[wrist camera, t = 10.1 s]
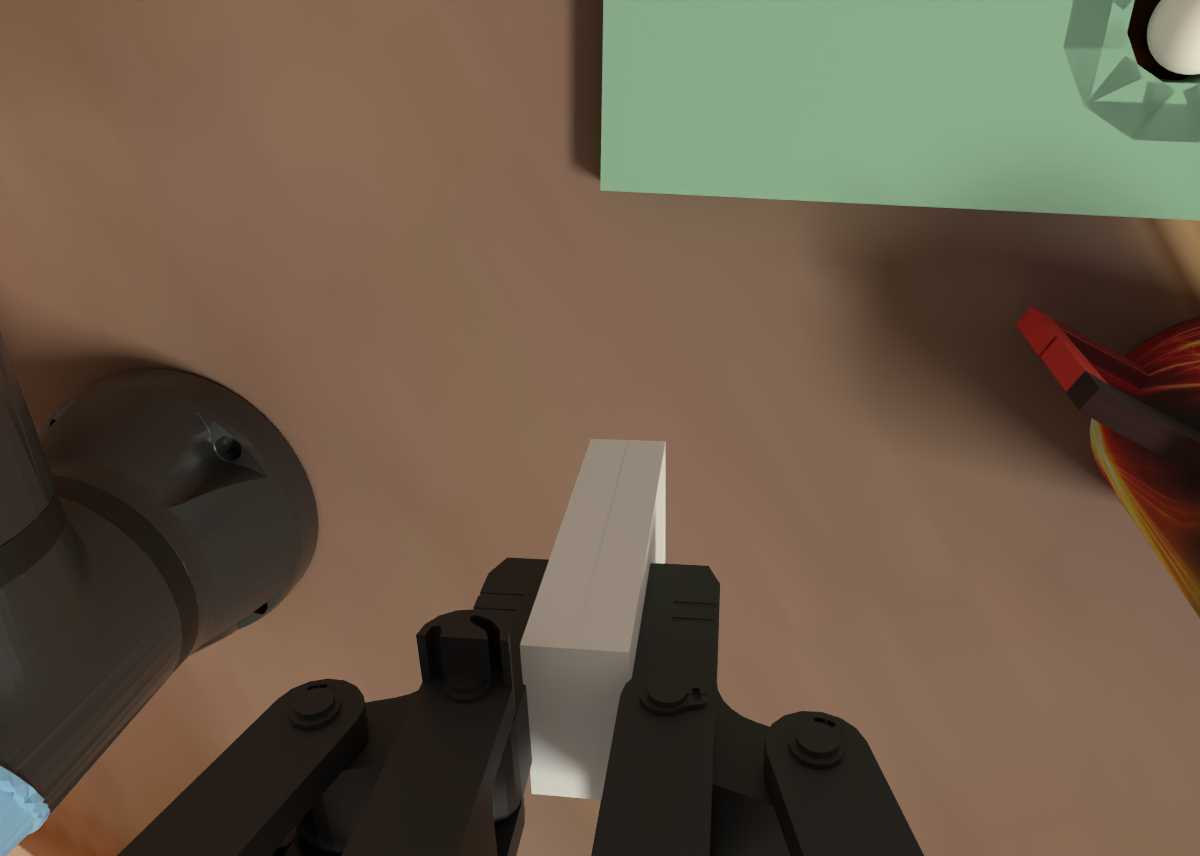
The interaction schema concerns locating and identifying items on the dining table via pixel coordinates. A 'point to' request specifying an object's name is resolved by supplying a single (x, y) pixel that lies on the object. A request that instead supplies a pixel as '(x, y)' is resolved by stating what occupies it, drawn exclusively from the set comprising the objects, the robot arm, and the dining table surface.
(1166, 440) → the mug
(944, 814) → the dining table surface
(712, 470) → the dining table surface
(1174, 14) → the ball
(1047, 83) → the board with hole
